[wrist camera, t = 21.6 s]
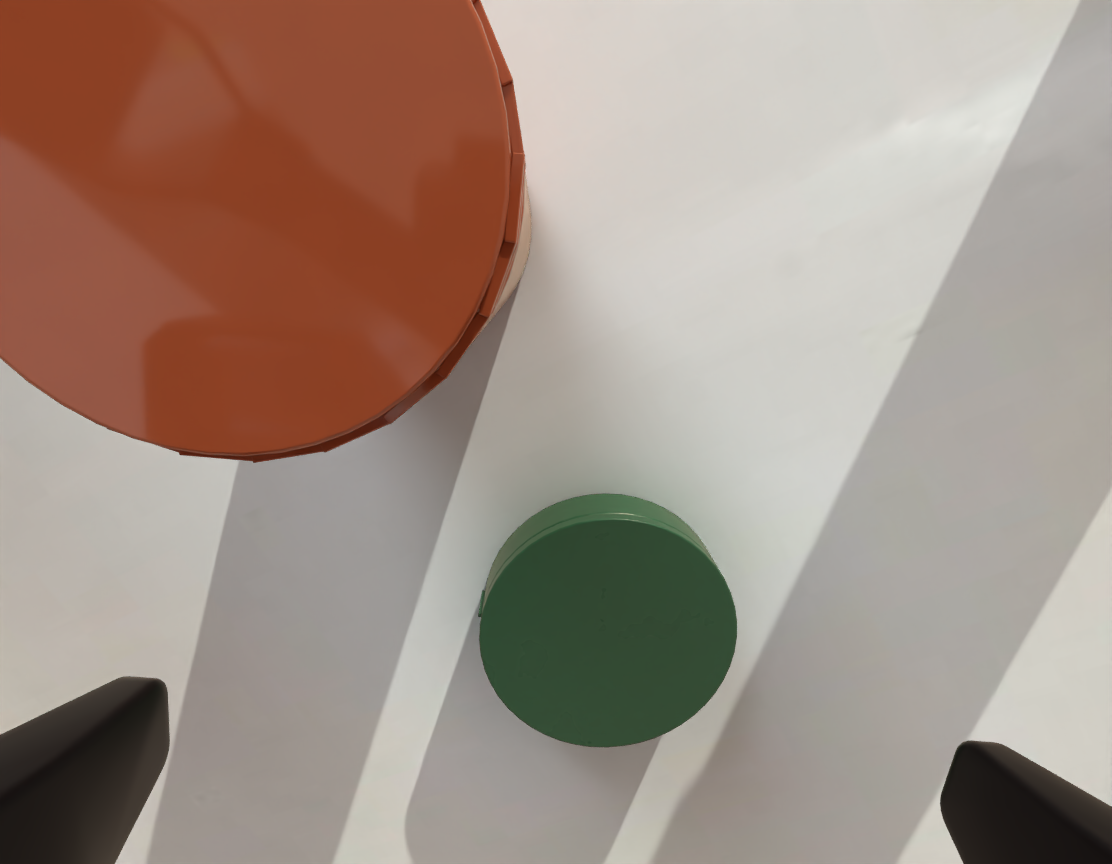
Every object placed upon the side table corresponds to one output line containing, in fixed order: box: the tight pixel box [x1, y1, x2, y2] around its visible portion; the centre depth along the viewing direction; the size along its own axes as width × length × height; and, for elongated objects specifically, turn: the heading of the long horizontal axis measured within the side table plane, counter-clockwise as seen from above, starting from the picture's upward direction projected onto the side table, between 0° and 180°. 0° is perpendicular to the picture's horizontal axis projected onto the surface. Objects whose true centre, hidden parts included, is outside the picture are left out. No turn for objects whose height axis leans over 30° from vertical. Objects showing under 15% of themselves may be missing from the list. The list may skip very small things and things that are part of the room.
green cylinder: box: [478, 494, 737, 747], centre depth 18 cm, size 7×7×2 cm
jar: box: [0, 0, 532, 463], centre depth 11 cm, size 6×6×11 cm
